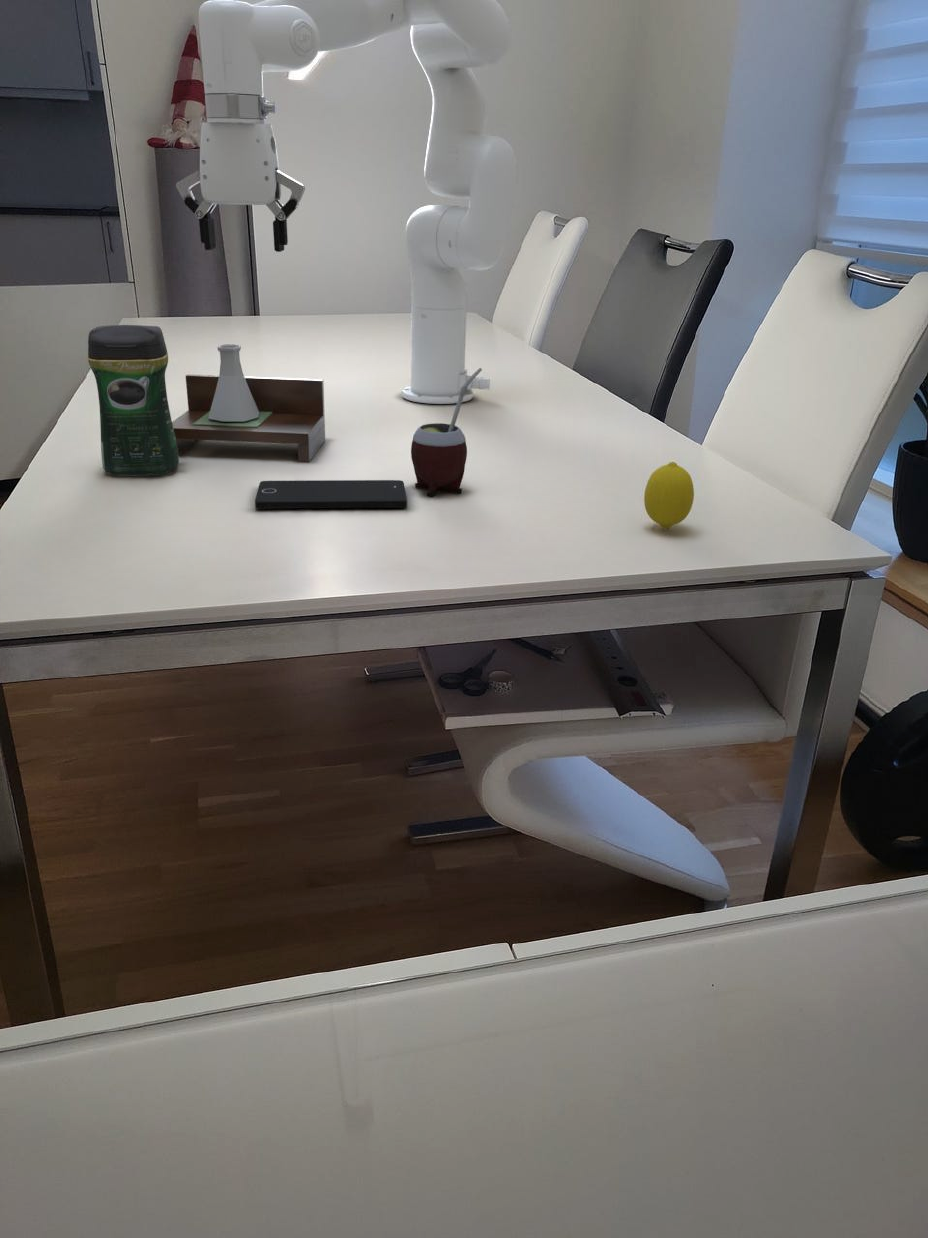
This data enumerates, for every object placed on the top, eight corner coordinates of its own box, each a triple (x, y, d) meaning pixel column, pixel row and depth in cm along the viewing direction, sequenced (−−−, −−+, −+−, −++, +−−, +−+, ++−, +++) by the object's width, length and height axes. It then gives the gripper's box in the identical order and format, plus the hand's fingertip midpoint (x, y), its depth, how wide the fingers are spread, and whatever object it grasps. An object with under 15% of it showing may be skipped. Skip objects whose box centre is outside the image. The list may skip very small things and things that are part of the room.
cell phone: (260, 487, 127) (260, 480, 126) (403, 486, 129) (403, 479, 128) (254, 509, 119) (254, 502, 118) (407, 508, 121) (407, 500, 120)
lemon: (635, 521, 119) (642, 455, 116) (681, 521, 119) (689, 455, 116) (647, 537, 114) (655, 468, 111) (695, 537, 114) (704, 468, 111)
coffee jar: (183, 461, 137) (169, 320, 130) (175, 477, 130) (160, 330, 122) (109, 462, 136) (92, 320, 128) (97, 478, 129) (78, 329, 121)
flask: (248, 425, 139) (243, 351, 135) (199, 421, 141) (193, 348, 136) (267, 413, 146) (263, 343, 142) (220, 410, 147) (215, 340, 143)
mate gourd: (402, 493, 126) (402, 373, 120) (425, 477, 133) (427, 362, 127) (457, 501, 124) (460, 379, 118) (478, 484, 131) (482, 367, 125)
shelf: (325, 440, 149) (323, 379, 146) (309, 462, 139) (306, 396, 135) (192, 435, 150) (187, 374, 147) (166, 456, 139) (160, 391, 136)
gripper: (306, 113, 135) (312, 249, 142) (179, 111, 135) (191, 246, 143) (295, 111, 128) (301, 254, 135) (160, 108, 129) (174, 250, 136)
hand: (245, 249), depth 139 cm, fingers open, 9 cm apart
